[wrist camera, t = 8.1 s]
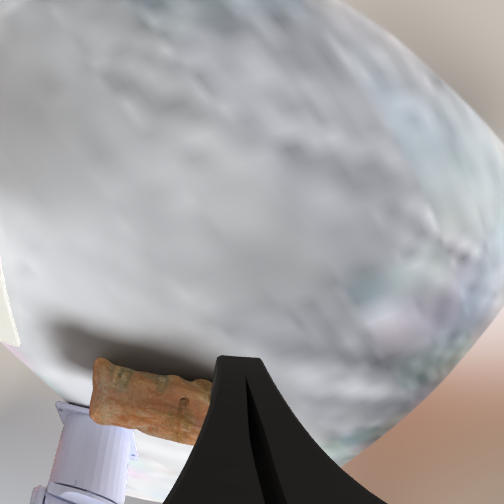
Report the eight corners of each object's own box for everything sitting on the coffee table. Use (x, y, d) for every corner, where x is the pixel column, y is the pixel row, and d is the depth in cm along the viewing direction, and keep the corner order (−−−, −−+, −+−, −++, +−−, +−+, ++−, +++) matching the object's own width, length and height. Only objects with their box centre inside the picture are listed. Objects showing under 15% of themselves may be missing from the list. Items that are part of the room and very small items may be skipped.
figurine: (82, 364, 22) (242, 357, 30) (96, 460, 19) (257, 437, 26) (83, 345, 16) (294, 336, 23) (103, 483, 12) (316, 438, 20)
